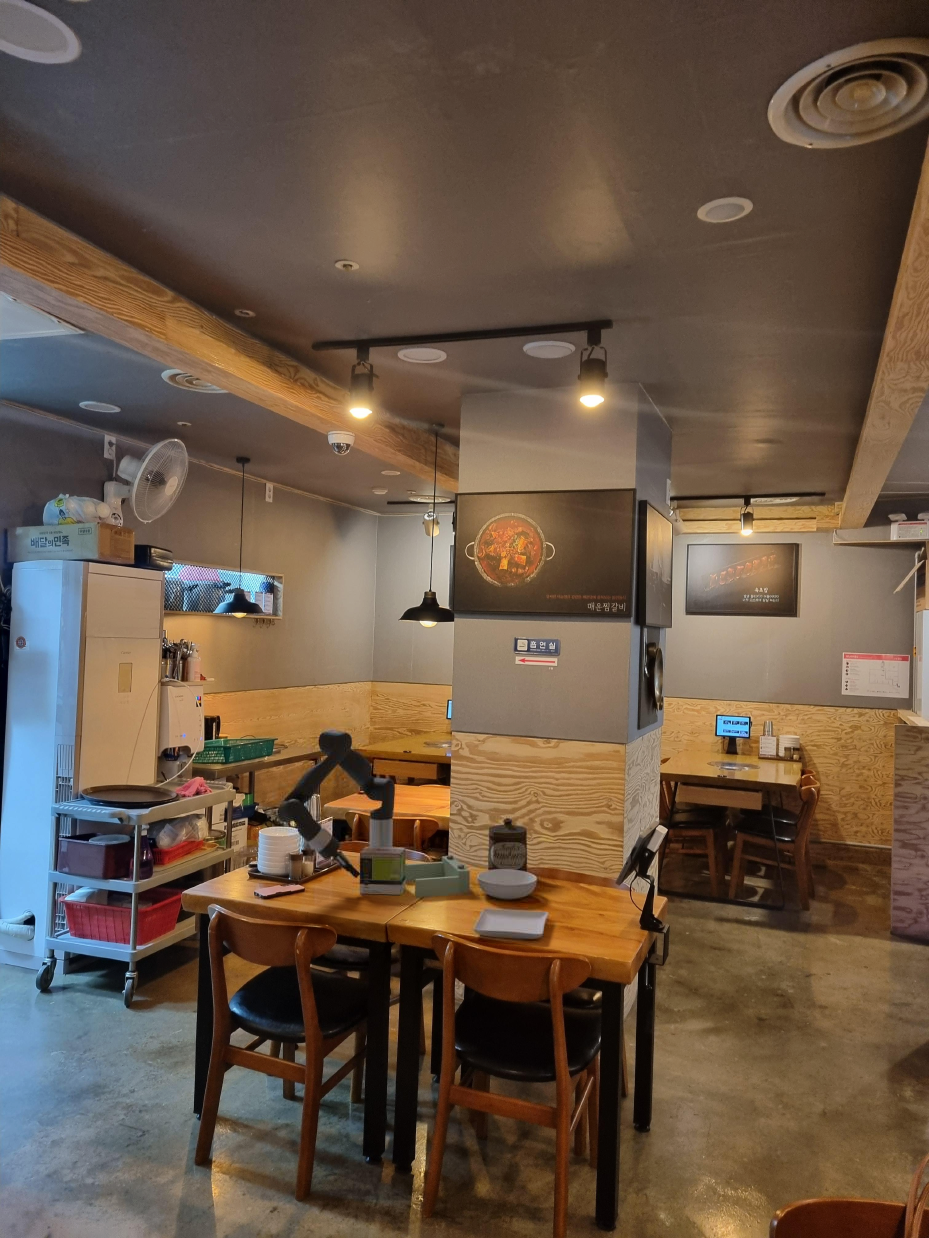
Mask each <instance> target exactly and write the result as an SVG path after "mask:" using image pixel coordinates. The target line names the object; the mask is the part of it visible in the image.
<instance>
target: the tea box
mask: <svg viewBox="0 0 929 1238" xmlns="http://www.w3.org/2000/svg"><path fill="white" fill-rule="evenodd" d="M405 864H406V847H405V846H403V847H401V846H399V847H398V846H396V847H395V846H392V847H370V846H365V847H364V848H363V849H362V850H360V852H359V873H360V875H359V894H364V895H366V894H367V895H368V894H369V895H394V896H395V895H397V896H400V895H402V894H403V892H404V890H405V888H406V882H405Z"/></svg>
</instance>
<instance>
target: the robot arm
mask: <svg viewBox="0 0 929 1238" xmlns="http://www.w3.org/2000/svg"><path fill="white" fill-rule="evenodd" d="M352 747H353V738H352V736H351V735H350V733H348V732H345V731H342V730H337V729H325V730H323V731H322V732H321V733H320V734H319V736H318V748H319V749H320V752H322V754H324V755H326V757H325V758H324V759H322V761H320V762H318V763H317V764H315V765H314V766H312V767H311V768H309V769H307V770H306V771H305V772H304V774H303V775H301V776H300V779H299V780H298V782H297V783H296V785H295V786H294V788H293V789H292V790H291V792H289V794H288V795H287V796H286V797H285V798H284V799H283V800H282V801H281V803H280V805H279V806H278V809H277V812H276V814H277V818H278V819H279V820H280V822H283V823H292V822H294V824H295V825H296V826H297V832H298V834H299V836H300V837H302V838H303V839H304V840H305V841H306V842H307V843H308V844H309V846H310V847H312V849H313V850H314V851H316V852H317V854H318V855H319V856H321V857H322V859H324V860H329V859H330V858H332V860H333V862H334V863H335V864H337V865H339V866H340V867H341V869H343V870H345V871H346V872H347V873H350V875H351V876H352V877H353V878H354V879H358V877H360V871H359V870H358V869H356V868H355V866H354V865H353V864H352V863H351V861H350V860H349V858H348V857H347V856H346V855H345V854H344V853H343V851H342V850H339V849H340V847H341V842H340V841H338V840H337V838H336V837H335V836H333V835H332V833H330V832H329V831H328V829H326V828H324V827H323V826H322V825H321V824H320V822H318V821H317V820H315V818H314V817H313V816H312V813H311V812H310V811H309V809H308V808H307V806H306V805H305V804H306V803H308V802H309V801H310V800H311V799H312V798H313V796H314V795H315V793H316V792H317V791H318V789H319V787H320V786H321V784H322V783H323V781H324V780H326V778H327V777H328V776H329V774H331V773H332V771H333V770H334V769H335V768H336V767H337V766H339V767H340V768H341V769H342V770H343V771H344V772H345V773H346V775H348V776H349V777H350V778H351V779H352V780H353V782H355V783H356V784H357V785H358V786H359V787H360V789H361V790H362V792H363V793H364V794H365V795H366V797H367V798H368V799H370V800H372V801H374V802H375V801H376V802H381V805H380V807H377V808H374V809H372V810H370V812H369V847H393V828H394V827H393V826H394V825H393V821H394V820H393V817H394V810H395V797H396V796H395V795H396V786H395V782H394V780H393V779H391V778H384V777H383V778H382V777H374V776H373V775H372V773H373V772H372V771H373V768H372V764H371V762H370V761H369V760H368V759H367V758H366V757H365V756H364V755H363V754H361V752H359V751H357V750H355V749H353V748H352Z"/></svg>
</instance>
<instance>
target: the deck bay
mask: <svg viewBox="0 0 929 1238" xmlns="http://www.w3.org/2000/svg"><path fill="white" fill-rule="evenodd" d="M470 871H471V870H470V869H468V868H467V867H466V866H465V865H464V864H462V863H461V862H460V861H459V860H458V859H456V858H455V857H454V855H453V854H451V855H450V854H448V855H444V856H441V861H434V862H421V863H407V864H406V863H405V883H407V882H414V897H415V898H428V897H429V898H430V897H439V896H441V897H443V896H452V895H453V896H454V895H465V894H470V878H471V876H470V873H471V872H470Z"/></svg>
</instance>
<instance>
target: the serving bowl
mask: <svg viewBox="0 0 929 1238" xmlns="http://www.w3.org/2000/svg"><path fill="white" fill-rule="evenodd" d="M537 881H538V877H537V876H536V875H535V874H533V873H530V872H528V871H527V872H524V871H519V870H511V869H496V870H488V869H487V870H484V871H482V872H479V873H478V874H477V882H478V885H479V888H480V889H481V891H482V892H483V893H485V894H487V895H488V896H490V897H492V898H493V897H494V898H495V899H496V898H497V899H499V900H506V901H507V900H509V901H511V900H516V899H521V898H525V897H527V896H529V895H530V894H531V893H532V892H533V891H534V890H535V889H536V886H537Z"/></svg>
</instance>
